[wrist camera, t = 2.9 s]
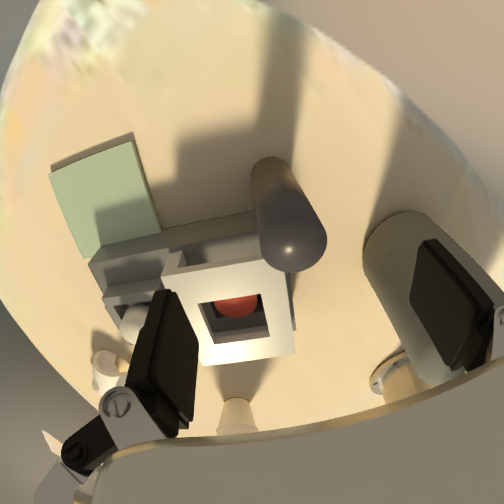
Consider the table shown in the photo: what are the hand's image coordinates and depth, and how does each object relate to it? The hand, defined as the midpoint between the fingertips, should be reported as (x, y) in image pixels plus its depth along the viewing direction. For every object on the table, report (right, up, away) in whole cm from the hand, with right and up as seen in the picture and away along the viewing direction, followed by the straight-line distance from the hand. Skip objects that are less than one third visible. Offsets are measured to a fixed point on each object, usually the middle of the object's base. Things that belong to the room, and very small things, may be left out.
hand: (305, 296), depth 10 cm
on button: (-12, -5, +15) cm, 20 cm away
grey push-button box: (-8, -1, +19) cm, 21 cm away
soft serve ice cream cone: (-5, -24, +34) cm, 41 cm away
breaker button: (-4, -1, +17) cm, 18 cm away
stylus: (0, +8, +14) cm, 16 cm away
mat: (-16, +6, +15) cm, 23 cm away
